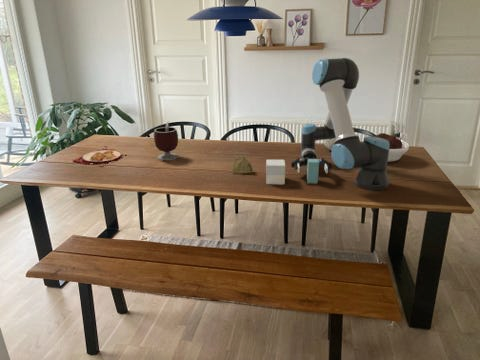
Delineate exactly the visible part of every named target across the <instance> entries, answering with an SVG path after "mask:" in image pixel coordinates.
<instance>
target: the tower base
mask: <svg viewBox="0 0 480 360" xmlns="http://www.w3.org/2000/svg"><path fill="white" fill-rule="evenodd" d="M285 178H286V174H285V175H266V177H265V183H266V185H285V183H286V182H285V181H286V180H285Z"/></svg>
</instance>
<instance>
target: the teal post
mask: <svg viewBox="0 0 480 360" xmlns="http://www.w3.org/2000/svg"><path fill="white" fill-rule="evenodd" d="M318 159H319V158H317V159H308V164H307V165H306V168H307V170H306V182H307V184H318V183H319V168H320V166H319V160H318Z"/></svg>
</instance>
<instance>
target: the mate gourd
mask: <svg viewBox="0 0 480 360" xmlns="http://www.w3.org/2000/svg"><path fill="white" fill-rule="evenodd" d="M153 131H154V133H153V141H154V144H155V146H156V148H157V149H158V150H159V151H161V152H164V153H162V154H159V155H157V157H156V158H157V160H159V161H163V160H169V161H174V160H177V159H178V158H179V155H178V154H176V153H172V151H174V150H175V149H176V148H177V147H178V144H179V134H178V131H177V128H176V127H171V126H170V125H169V121H167V122H166V124H165V126H164V127H163V126H162V127H157V128H155V129H154V130H153ZM176 158H177V159H176ZM173 159H174V160H173Z"/></svg>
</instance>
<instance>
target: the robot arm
mask: <svg viewBox="0 0 480 360" xmlns="http://www.w3.org/2000/svg"><path fill="white" fill-rule="evenodd" d="M311 75H312V82H313V84H314V85H317V86H319V89H320V91H321V92H323V93H324V96H325V100H326V103H327V108H328V114H327V116H326V119H325V122H324V126H323V125H321V126H317V125H316V124H315V123H304V124H303V125H302V127H301V143H300V144H301V145H300V155H301V158H300V157H296V159H294V160H293V161H292V162H291V164H290V165H291V166H290V167H291V168H294V170H297V173H300V170H301V169H300V168H301V167H303V166H304V167H305V166H307V164H308V159H318V160H319V167H321V168H324V171H325V173H326V174H328V172H329V170H330V169H332V167H333V163H334V165H335V166H336V167H337V168H339V169H341V170H346V169H348V170H349V169H353V168H359V171H358V173H357V175H356V178H355V185H356V186H357V187H359V188H362V189H365V190H370V191H383V190H386V189H387V188H389V179H388V177H389V176H388V174H387V168H388V162H389V161H388V155H389V145H390V144H389V142H388V141H387V140H385V139H382V138H378V137H372V136H369V135H367V136H364V138H363V141H361V139H360V136H359V135H358V134H356V133H355V130H354V126H353V123H352V119H351V115H350V111H349V108H348V107H349V106H348V103H349V101H350V98H351V95H352V92H353V90H355V89H356V88H357V86H358V83H359V78H360V71H359V67H358V65H357V64H356V63H355V61H354V60H353V59H350V58H347V57H342V58H340V57H339V58H323V59H318V60H317V61H316V62H315V63H314V65H313V69H312V73H311ZM334 138H336V140H335V141H334V146H333V147H332V150H330V151H331V152H330V154H331V159H332V162H333V163H332V162H330V161H328V160H326V159H325V158H323V157H321V158H320V159H319V158H318V157H317V154H316V149H315V148H316V141H325V140H326V139H334Z"/></svg>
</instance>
